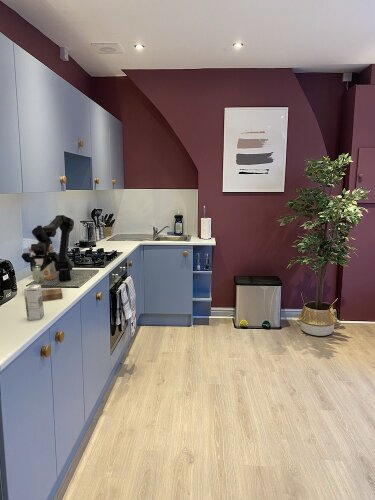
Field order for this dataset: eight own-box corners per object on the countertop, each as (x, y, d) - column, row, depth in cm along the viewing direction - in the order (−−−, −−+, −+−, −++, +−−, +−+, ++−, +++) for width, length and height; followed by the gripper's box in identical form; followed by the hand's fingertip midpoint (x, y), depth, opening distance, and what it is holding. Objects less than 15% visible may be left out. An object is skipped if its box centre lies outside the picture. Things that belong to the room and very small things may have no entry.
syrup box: (31, 316, 172) (27, 285, 169) (44, 315, 172) (40, 284, 169) (27, 320, 166) (22, 288, 163) (41, 319, 166) (37, 287, 164)
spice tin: (43, 280, 204) (41, 264, 202) (45, 282, 200) (43, 265, 198) (33, 282, 201) (30, 265, 200) (35, 284, 197) (32, 267, 195)
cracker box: (57, 277, 239) (53, 245, 235) (50, 280, 233) (46, 247, 230) (39, 277, 244) (34, 245, 240) (32, 279, 238) (28, 246, 234)
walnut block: (61, 293, 204) (61, 288, 204) (62, 298, 195) (61, 293, 195) (42, 296, 201) (41, 290, 201) (41, 301, 192) (41, 296, 191)
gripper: (20, 238, 201) (12, 263, 192) (54, 236, 199) (47, 262, 190) (30, 250, 210) (22, 274, 201) (62, 248, 208) (55, 273, 199)
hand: (36, 270), depth 198 cm, fingers closed on spice tin, 5 cm apart
